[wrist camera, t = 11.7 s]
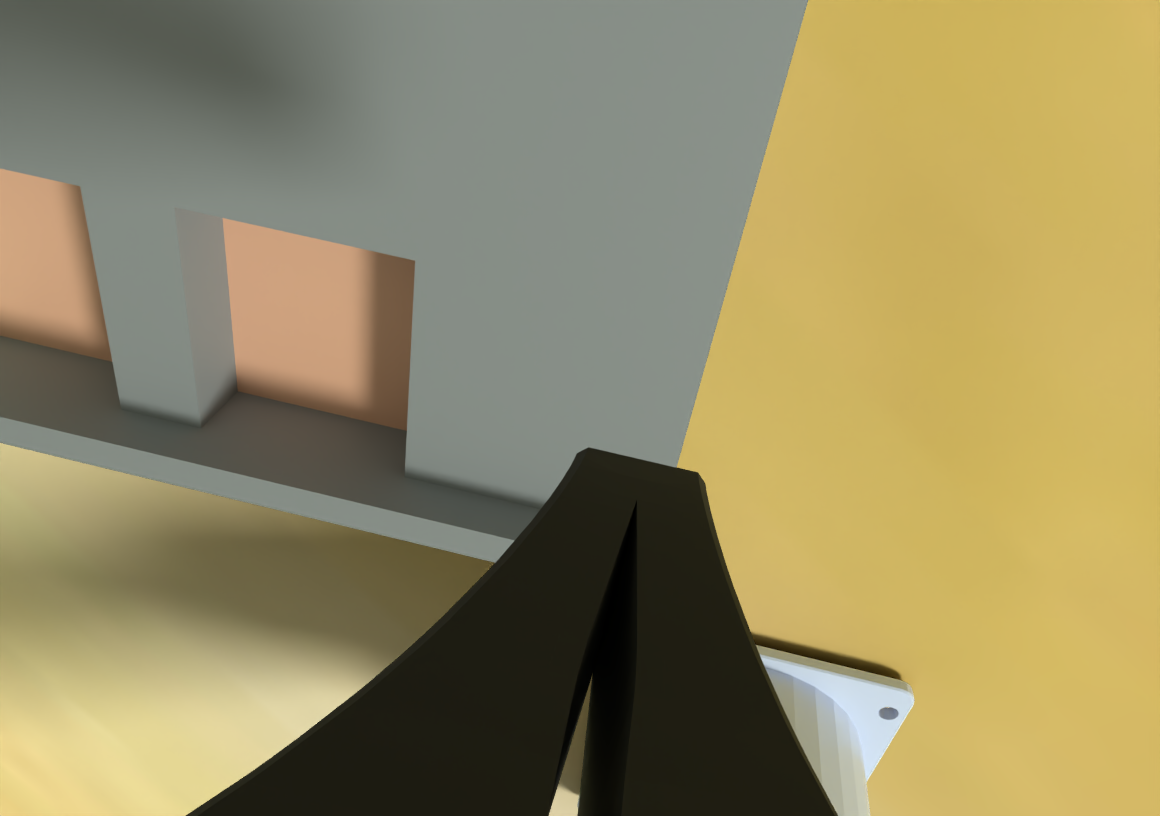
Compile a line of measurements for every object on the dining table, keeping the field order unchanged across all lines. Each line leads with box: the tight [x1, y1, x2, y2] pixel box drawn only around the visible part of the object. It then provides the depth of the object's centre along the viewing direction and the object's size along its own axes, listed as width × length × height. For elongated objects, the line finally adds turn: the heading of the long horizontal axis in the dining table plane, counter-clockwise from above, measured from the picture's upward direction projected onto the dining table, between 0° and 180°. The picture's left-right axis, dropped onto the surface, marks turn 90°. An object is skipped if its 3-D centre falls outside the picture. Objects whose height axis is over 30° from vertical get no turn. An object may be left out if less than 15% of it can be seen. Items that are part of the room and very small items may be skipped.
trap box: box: [0, 0, 808, 563], centre depth 17 cm, size 15×27×3 cm, turn 81°
